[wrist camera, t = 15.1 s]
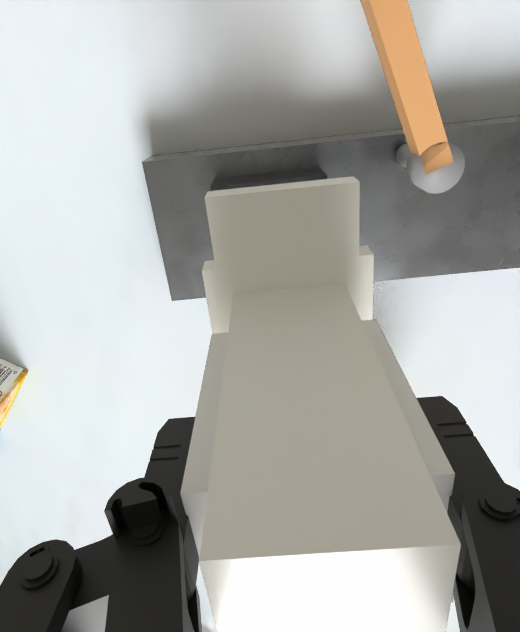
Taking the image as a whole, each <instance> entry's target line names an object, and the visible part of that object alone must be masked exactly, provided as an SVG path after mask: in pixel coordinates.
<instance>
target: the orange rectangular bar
mask: <svg viewBox="0 0 520 632" xmlns="http://www.w3.org/2000/svg"><path fill="white" fill-rule="evenodd" d="M360 1H361V4H362V7H363V10H364V13H365V16H366V19H367V22H368V25H369V28H370V31H371V34H372V37H373V40H374V43H375V46H376V49H377V52H378V55H379V58H380V61H381V64H382V67H383V70H384V73H385V77H386V80H387V83H388V86H389V89H390V92H391V95H392V98H393V101H394V104H395V107H396V110H397V113H398V116H399V119H400V122H401V125H402V128H403V131H404V134H405V137H406V140H407V143H406V144H404V145H402V146H401V147H400V148H399V149H398V151H397V153H396V160H397V162H398V163H399V164H400V165H401V166H403V167H405V168H406V173H407V176H408V178H409V180H410V181H411V182H412V183H413V184H414V185H415V186H417V187H419V188H421V189H422V190H424V191H426V192H428V193H433V194H437V193H442V192H445V191H447V190H449V189H451V188H452V187H453V186H454V185H456V183H457V182H458V181H459V180H460V178H461V176H462V174H463V171H464V167H465V159H464V155H463V153H462V151H461V149H460V148H459V147H458V146H456V145H455V144H453V143H449V142H448V140H447V137H446V133H445V130H444V126H443V123H442V119H441V116H440V112H439V109H438V105H437V102H436V99H435V95H434V92H433V88H432V85H431V81H430V78H429V74H428V71H427V67H426V64H425V60H424V57H423V54H422V50H421V47H420V43H419V40H418V36H417V33H416V29H415V26H414V22H413V19H412V15H411V12H410V9H409V5H408V2H407V0H360Z"/></svg>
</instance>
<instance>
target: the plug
mask: <svg viewBox="0 0 520 632" xmlns="http://www.w3.org/2000/svg"><path fill="white" fill-rule="evenodd" d="M205 204H206V210H207V216H208V223H209V229H210V236H211V242H212V248H213V255H214V260H211V261H205V262H204V266H203V269H202V275H203V281H204V287H205V293H206V298H207V304H208V310H209V316H210V321H211V327H212V333H213V334H214V333H226V332H229V334H228V341H227V349H226V357H225V364H224V372H223V380H222V387H221V395H220V403H219V410H218V418H217V426H216V433H215V441H214V449H213V456H212V464H211V472H210V479H209V487H208V495H207V502H206V510H205V518H204V525H203V533H202V541H201V548H200V556H199V564H200V567H201V571H202V575H203V579H204V583H205V586H206V590H207V594H208V598H209V602H210V605H211V609H212V613H213V617H214V621H215V624H216V628H217V632H446V627H447V621H448V616H449V610H450V604H451V599H452V593H453V587H454V581H455V576H456V570H457V564H458V559H459V553H460V547H461V543H460V541H459V539H458V537H457V534H456V532H455V530H454V528H453V525H452V523H451V521H450V519H449V516H448V514H447V512H446V510H445V507H444V505H443V503H442V501H441V498H440V496H439V494H438V492H437V489H436V487H435V485H434V483H433V480H432V478H431V476H430V474H429V471H428V469H427V467H426V465H425V462H424V460H423V458H422V456H421V454H420V451H419V449H418V447H417V445H416V442H415V440H414V438H413V436H412V433H411V431H410V429H409V427H408V424H407V422H406V420H405V418H404V415H403V413H402V411H401V409H400V406H399V404H398V402H397V400H396V397H395V395H394V393H393V391H392V388H391V386H390V384H389V382H388V379H387V377H386V375H385V373H384V370H383V368H382V366H381V364H380V361H379V359H378V357H377V355H376V352H375V350H374V348H373V346H372V343H371V341H370V339H369V337H368V334H367V332H366V330H365V328H364V325H363V323H362V320H372V317H373V270H374V254H373V253H372V251H371V250H370V248H369V247H368V246H359V208H360V182H359V181H358V180H357V179H356V178H355V177H354V176H352V177H342V178H332V179H323V180H313V181H303V182H294V183H284V184H274V185H265V186H255V187H245V188H235V189H226V190H216V191H208V192H207V194H206V196H205Z"/></svg>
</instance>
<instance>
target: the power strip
mask: <svg viewBox="0 0 520 632" xmlns="http://www.w3.org/2000/svg"><path fill="white" fill-rule="evenodd" d="M443 126H444V130H445V133H446V137H447V140H448V142H449V143H453V144H455V145H456V146H458V147H459V148H460V149H461V151H462V153H463V155H464V159H465V167H464V171H463V174H462V176H461V178H460V180H459V181H458V182H457V183H456V185H454V186H453V187H452V188H451V189H449V190H447V191H445V192H442V193H437V194H433V193H428V192H426V191H424V190H422V189H421V188H419V187H417V186H415V185H414V184H413V183H412V182H411V181H410V180H409V178H408V176H407V173H406V168H405V167H403V166H401V165H400V164H399V163H398V162H397V160H396V153H397V151H398V149H399V148H400V147H401V146H402V145H404V144H406V143H407V140H406V137H405V134H404V131H403V129H395V130H386V131H376V132H367V133H358V134H349V135H340V136H330V137H321V138H312V139H303V140H293V141H284V142H275V143H266V144H257V145H247V146H238V147H229V148H220V149H211V150H201V151H192V152H183V153H174V154H165V155H155V156H151V157H149V158H148V159H146V160H144V161H143V162H142V164H143V169H144V173H145V178H146V183H147V187H148V192H149V197H150V201H151V206H152V210H153V215H154V220H155V224H156V229H157V234H158V238H159V243H160V248H161V252H162V257H163V262H164V266H165V271H166V276H167V280H168V285H169V289H170V294H171V299H172V301H175V300H185V299H196V298H206V293H205V287H204V281H203V275H202V269H203V266H204V262H205V261H211V260H214V255H213V248H212V242H211V236H210V229H209V223H208V216H207V210H206V204H205V196H206V194H207V192H208V191H216V190H226V189H235V188H245V187H255V186H265V185H274V184H284V183H294V182H303V181H313V180H323V179H332V178H342V177H352V176H354V177H355V178H356V179H357V180H358V181H359V182H360V208H359V246H368V247H369V248H370V250H371V251H372V253H373V254H374V270H373V281H383V280H394V279H404V278H415V277H425V276H435V275H446V274H456V273H467V272H477V271H488V270H498V269H508V268H519V267H520V116H514V117H505V118H496V119H487V120H478V121H468V122H459V123H450V124H443Z"/></svg>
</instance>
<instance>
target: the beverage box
mask: <svg viewBox="0 0 520 632" xmlns="http://www.w3.org/2000/svg"><path fill="white" fill-rule="evenodd" d="M27 373H28V370H25V369H23V368H21V367H19V366H17V365H14V364H12V363H10V362H8V361H5V360H3V359H1V358H0V430H1V427H2V425H3V423H4V421H5V419H6V417H7V415H8V413H9V411H10V409H11V406H12V404H13V402H14V400H15V398H16V396H17V394H18V392H19V390H20V387H21V385H22V383H23V381H24V379H25V377H26V375H27Z"/></svg>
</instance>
